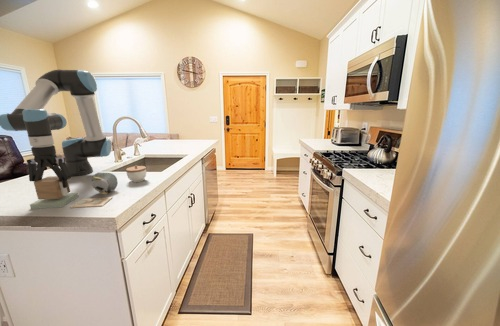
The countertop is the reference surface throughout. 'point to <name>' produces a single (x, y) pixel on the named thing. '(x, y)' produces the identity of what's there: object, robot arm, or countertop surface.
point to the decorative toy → (104, 182)
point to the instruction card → (91, 202)
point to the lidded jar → (136, 173)
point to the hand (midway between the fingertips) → (54, 194)
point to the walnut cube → (49, 188)
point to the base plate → (54, 201)
